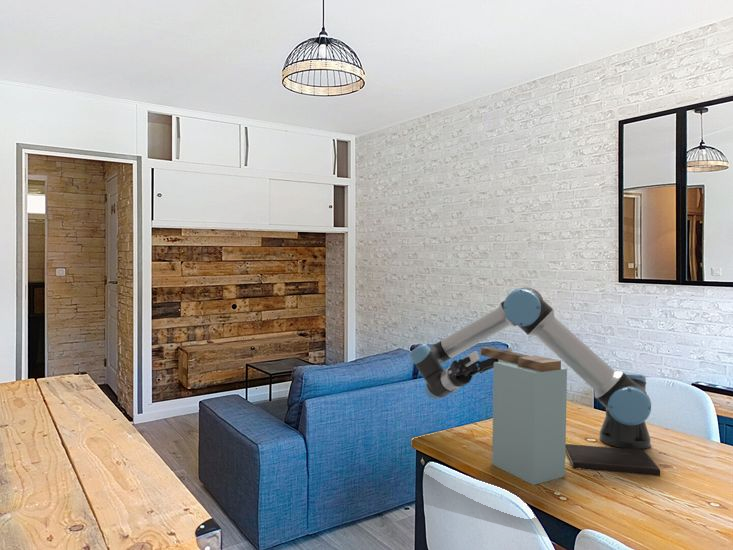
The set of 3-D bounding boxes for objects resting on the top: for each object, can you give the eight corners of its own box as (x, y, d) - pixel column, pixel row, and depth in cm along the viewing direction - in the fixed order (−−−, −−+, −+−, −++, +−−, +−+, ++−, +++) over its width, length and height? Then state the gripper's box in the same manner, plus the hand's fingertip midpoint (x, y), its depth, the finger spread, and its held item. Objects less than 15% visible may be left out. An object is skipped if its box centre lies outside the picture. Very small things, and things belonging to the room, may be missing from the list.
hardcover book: (564, 451, 169) (564, 443, 169) (643, 457, 164) (643, 449, 164) (572, 470, 153) (573, 462, 153) (660, 477, 148) (660, 469, 148)
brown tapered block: (475, 355, 165) (475, 348, 165) (492, 353, 168) (492, 346, 168) (542, 371, 141) (542, 362, 141) (560, 369, 145) (561, 360, 145)
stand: (492, 464, 155) (493, 362, 154) (522, 457, 161) (524, 359, 160) (533, 484, 141) (535, 372, 140) (564, 476, 147) (567, 368, 146)
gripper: (488, 383, 183) (529, 361, 166) (429, 391, 171) (466, 368, 155) (481, 362, 186) (520, 339, 170) (422, 369, 174) (458, 344, 158)
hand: (494, 353), depth 162 cm, fingers open, 13 cm apart
